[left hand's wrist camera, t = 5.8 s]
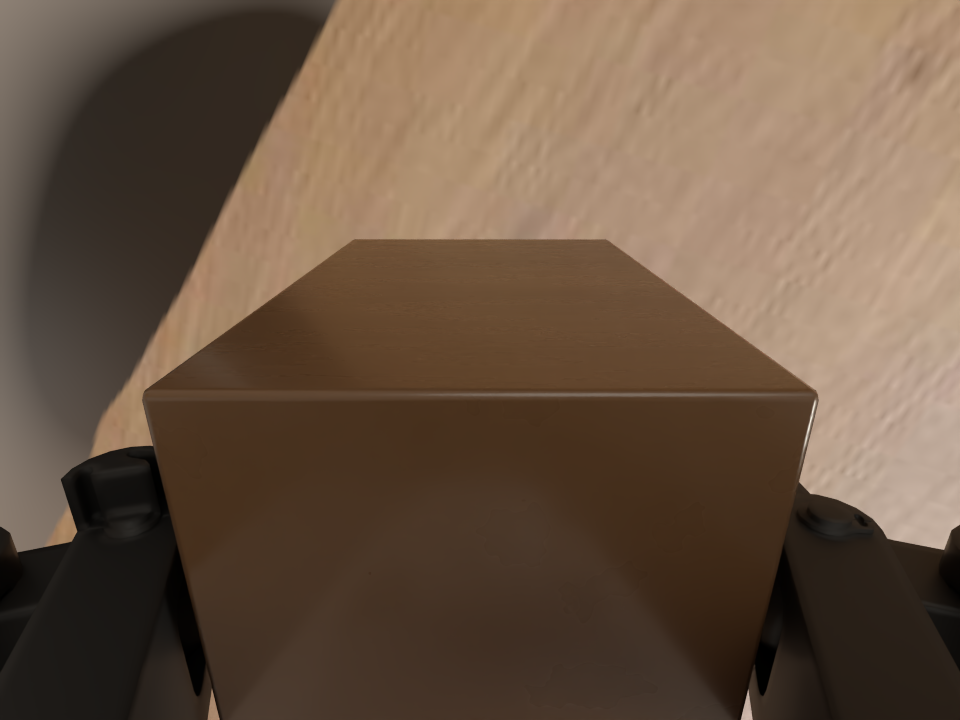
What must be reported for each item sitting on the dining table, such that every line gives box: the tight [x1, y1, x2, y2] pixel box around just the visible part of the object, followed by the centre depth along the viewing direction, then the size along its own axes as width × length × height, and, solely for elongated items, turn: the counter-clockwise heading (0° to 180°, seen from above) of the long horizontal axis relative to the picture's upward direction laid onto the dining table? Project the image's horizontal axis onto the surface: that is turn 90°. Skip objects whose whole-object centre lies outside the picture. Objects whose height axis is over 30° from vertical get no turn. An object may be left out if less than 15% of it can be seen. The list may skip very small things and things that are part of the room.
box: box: [142, 239, 819, 720], centre depth 13 cm, size 21×6×9 cm, turn 0°
